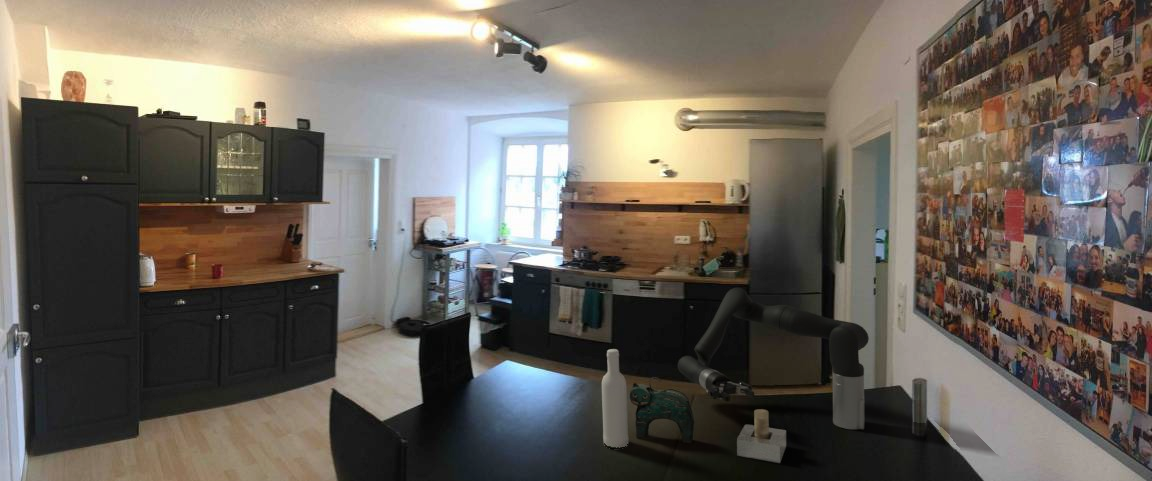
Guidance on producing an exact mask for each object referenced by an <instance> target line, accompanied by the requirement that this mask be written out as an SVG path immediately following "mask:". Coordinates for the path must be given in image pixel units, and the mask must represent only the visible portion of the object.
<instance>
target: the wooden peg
mask: <svg viewBox="0 0 1152 481" xmlns="http://www.w3.org/2000/svg"><path fill="white" fill-rule="evenodd" d="M753 412H754V413H753V416H754V419H753V420H754V426H755V437H756V438H762V439H768V440H769V428H770V424H769V411H768V410H767V409H763V408H761V409H759V408H758V409H755V410H754V411H753Z"/></svg>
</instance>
